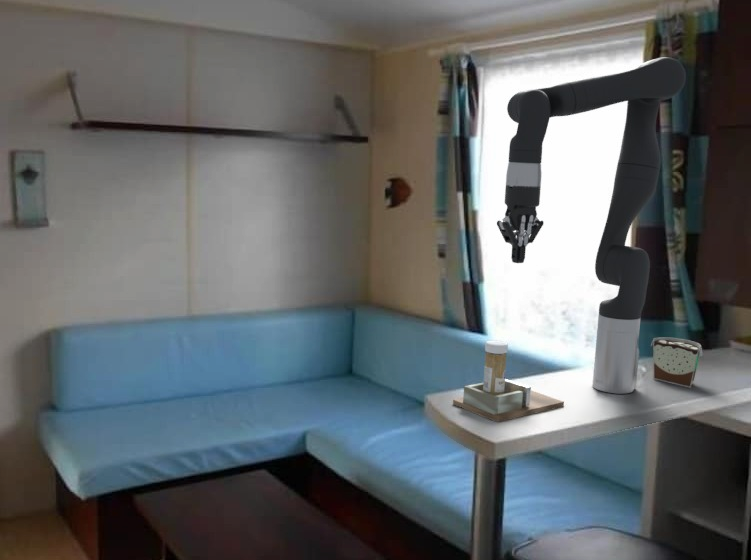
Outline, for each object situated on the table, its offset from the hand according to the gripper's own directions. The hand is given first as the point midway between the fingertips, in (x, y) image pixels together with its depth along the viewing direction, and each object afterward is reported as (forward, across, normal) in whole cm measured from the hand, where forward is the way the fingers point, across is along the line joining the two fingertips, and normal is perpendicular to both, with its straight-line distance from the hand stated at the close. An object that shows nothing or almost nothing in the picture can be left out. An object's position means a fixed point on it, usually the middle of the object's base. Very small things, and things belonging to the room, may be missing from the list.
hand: (517, 262), depth 174 cm
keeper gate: (+28, +9, +8) cm, 30 cm away
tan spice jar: (+28, +14, +9) cm, 33 cm away
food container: (+29, -42, +16) cm, 54 cm away
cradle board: (+29, +9, +8) cm, 32 cm away
